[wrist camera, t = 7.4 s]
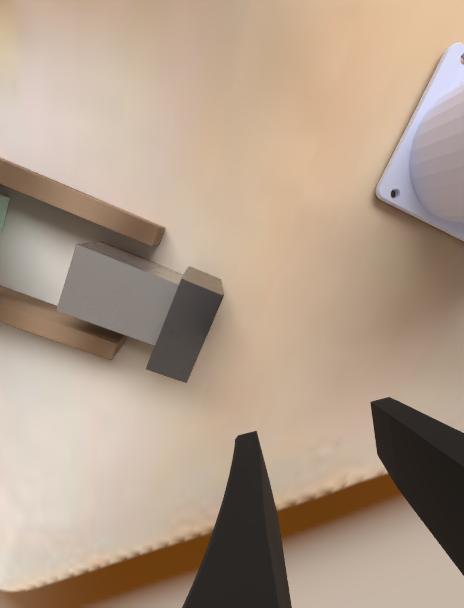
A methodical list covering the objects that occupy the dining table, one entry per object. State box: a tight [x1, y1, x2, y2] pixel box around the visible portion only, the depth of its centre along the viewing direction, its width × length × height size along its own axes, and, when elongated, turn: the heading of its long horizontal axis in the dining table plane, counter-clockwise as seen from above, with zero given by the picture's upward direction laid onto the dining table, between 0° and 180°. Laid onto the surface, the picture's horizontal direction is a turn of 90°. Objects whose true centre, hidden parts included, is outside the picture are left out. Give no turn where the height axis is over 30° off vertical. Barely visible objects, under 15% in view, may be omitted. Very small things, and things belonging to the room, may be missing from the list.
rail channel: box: [0, 158, 165, 360], centre depth 15 cm, size 13×8×2 cm, turn 67°
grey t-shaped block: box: [56, 242, 224, 383], centre depth 15 cm, size 7×5×4 cm, turn 67°
